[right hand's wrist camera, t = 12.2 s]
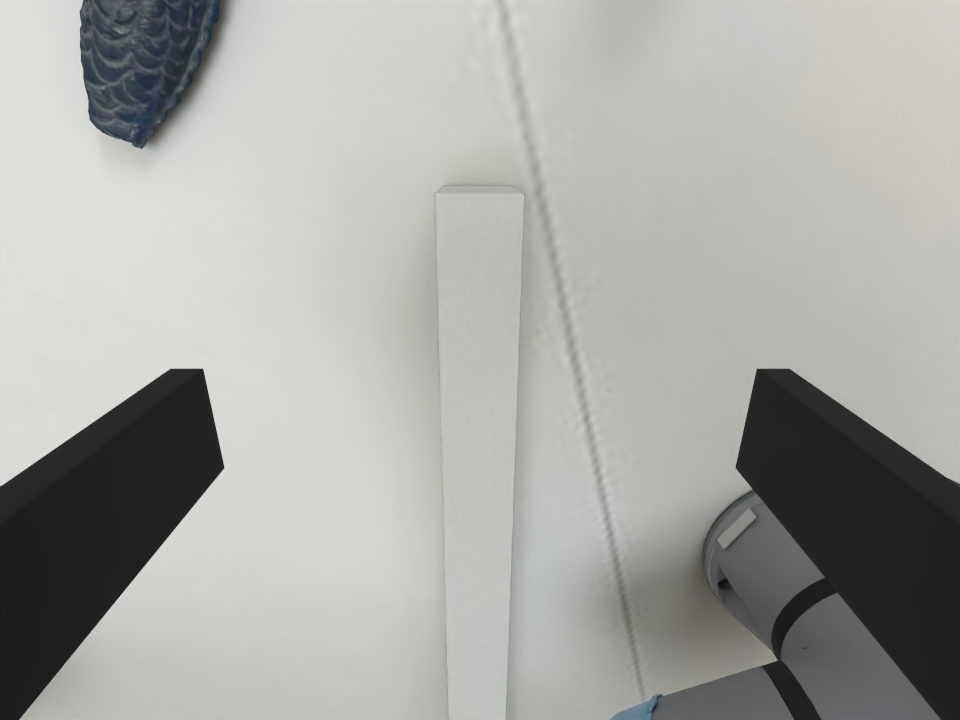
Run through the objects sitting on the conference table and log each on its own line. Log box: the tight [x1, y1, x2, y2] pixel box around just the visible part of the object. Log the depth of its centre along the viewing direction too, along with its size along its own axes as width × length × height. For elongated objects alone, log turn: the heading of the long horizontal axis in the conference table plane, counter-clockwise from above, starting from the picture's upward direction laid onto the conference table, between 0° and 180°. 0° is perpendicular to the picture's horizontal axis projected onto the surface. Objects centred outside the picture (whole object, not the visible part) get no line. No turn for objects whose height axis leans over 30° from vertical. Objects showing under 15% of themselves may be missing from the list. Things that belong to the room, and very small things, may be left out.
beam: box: [435, 186, 525, 720], centre depth 43 cm, size 59×5×8 cm, turn 0°
